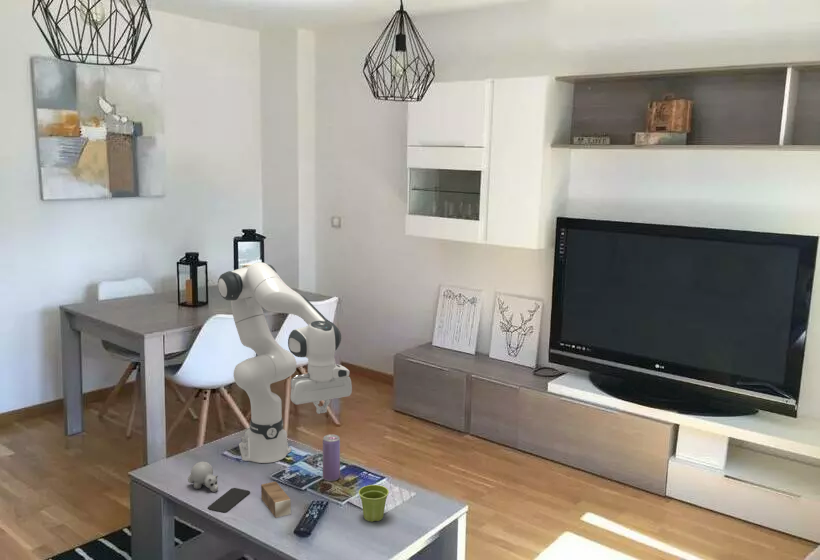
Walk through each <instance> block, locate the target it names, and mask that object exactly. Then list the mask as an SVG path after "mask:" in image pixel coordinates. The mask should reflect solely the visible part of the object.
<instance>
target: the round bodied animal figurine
mask: <svg viewBox="0 0 820 560" xmlns="http://www.w3.org/2000/svg"><path fill="white" fill-rule="evenodd" d="M218 477H219V475H217V474H216V475H214V469H213V466H212V465H211V464H210V463H209V462H207V461H199V462H197V463H195V464H194V465H193V466H192V467H191V470H190V474H189V476H188V478H187V482H188V483H189V484H193V488H195V489H196V490H200V489H201V488H202V486H205V487H206V488H208V489H209V490H210V491H211V492H213V493H215V492H217V491H218V489H219V485H218Z"/></svg>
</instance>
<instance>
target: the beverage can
mask: <svg viewBox="0 0 820 560" xmlns="http://www.w3.org/2000/svg"><path fill="white" fill-rule="evenodd" d="M340 439H341V438H340V436H339V435H337V434H326V435H324V436H323V438H322V478H323V479H324V480H325V481H327V482H335V481H338V480H339V479H340V477H341V440H340Z"/></svg>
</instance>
